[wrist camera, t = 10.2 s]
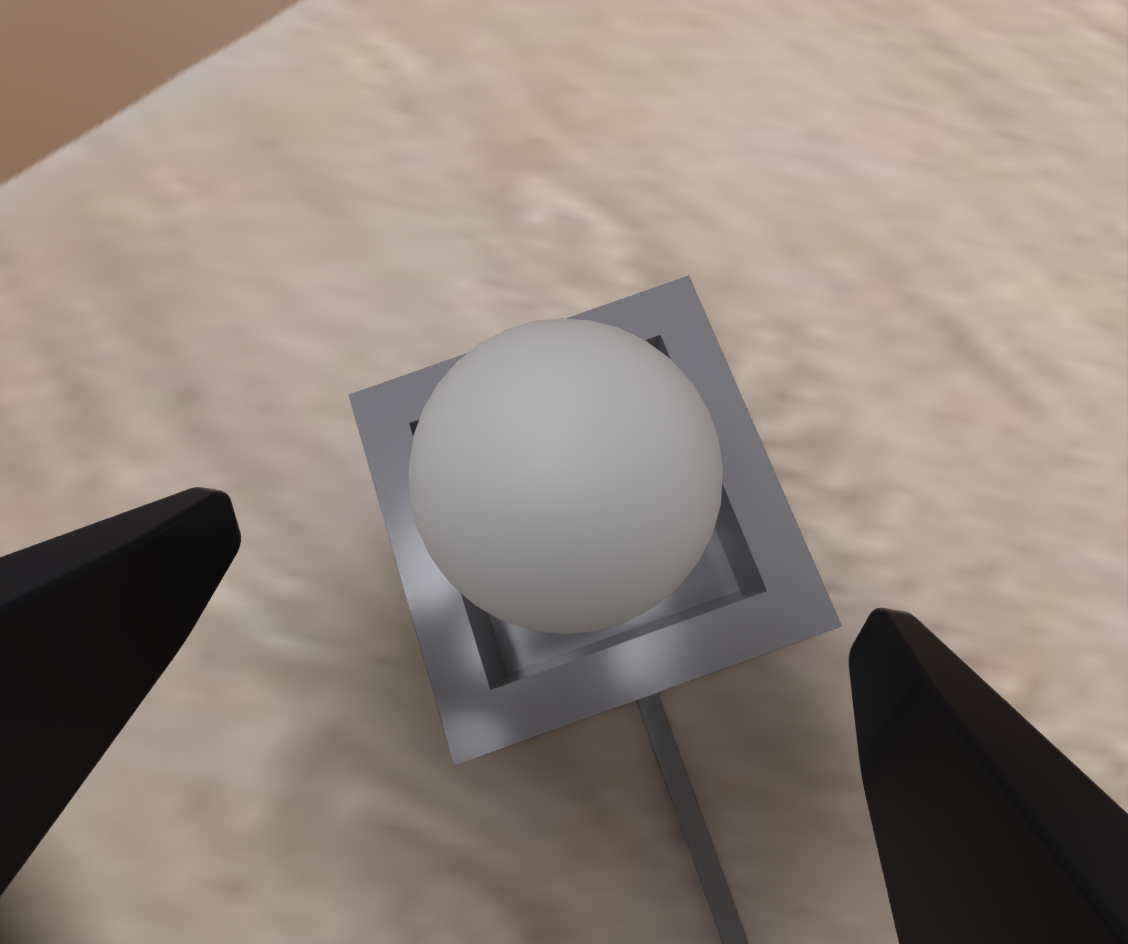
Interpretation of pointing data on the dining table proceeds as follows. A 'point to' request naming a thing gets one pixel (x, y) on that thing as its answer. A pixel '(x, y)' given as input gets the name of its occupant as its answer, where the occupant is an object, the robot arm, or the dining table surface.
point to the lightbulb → (565, 476)
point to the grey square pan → (626, 651)
